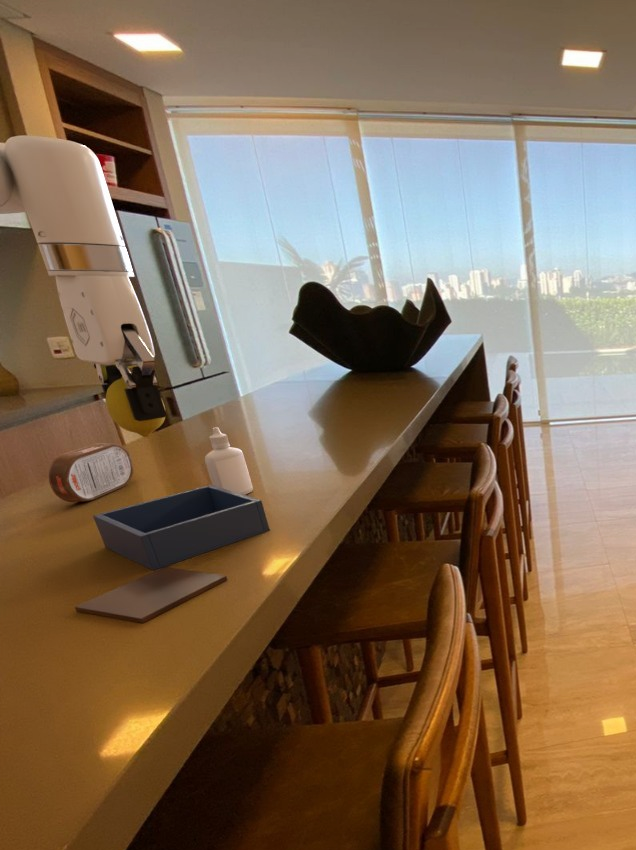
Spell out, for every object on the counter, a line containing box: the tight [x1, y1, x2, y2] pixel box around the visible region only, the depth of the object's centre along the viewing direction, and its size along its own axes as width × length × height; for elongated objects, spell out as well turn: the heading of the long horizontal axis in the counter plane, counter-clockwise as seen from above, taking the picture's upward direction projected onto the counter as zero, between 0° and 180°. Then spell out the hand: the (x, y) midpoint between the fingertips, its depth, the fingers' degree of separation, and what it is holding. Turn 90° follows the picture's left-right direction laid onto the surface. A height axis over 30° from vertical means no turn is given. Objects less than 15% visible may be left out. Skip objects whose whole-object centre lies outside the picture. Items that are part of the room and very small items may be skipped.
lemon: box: [105, 376, 166, 438], centre depth 72 cm, size 6×6×8 cm
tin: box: [48, 442, 134, 503], centre depth 98 cm, size 15×3×8 cm, turn 6°
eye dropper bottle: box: [204, 426, 254, 496], centre depth 96 cm, size 4×6×12 cm
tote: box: [92, 484, 271, 571], centre depth 80 cm, size 15×15×5 cm
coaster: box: [74, 566, 228, 624], centre depth 66 cm, size 10×10×1 cm
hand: (139, 414), depth 73 cm, fingers closed on lemon, 5 cm apart
